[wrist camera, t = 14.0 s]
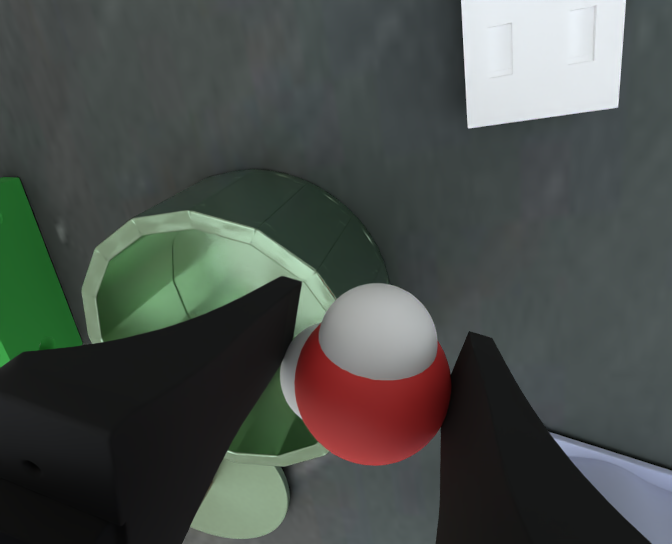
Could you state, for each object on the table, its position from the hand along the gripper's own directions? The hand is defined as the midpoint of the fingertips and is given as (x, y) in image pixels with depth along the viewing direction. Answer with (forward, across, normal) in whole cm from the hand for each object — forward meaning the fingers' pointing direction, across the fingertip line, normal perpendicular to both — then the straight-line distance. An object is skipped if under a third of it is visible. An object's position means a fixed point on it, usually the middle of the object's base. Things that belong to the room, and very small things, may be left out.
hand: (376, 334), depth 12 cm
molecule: (+2, 0, +1) cm, 2 cm away
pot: (+8, +6, +5) cm, 12 cm away
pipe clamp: (+9, +22, +9) cm, 25 cm away
